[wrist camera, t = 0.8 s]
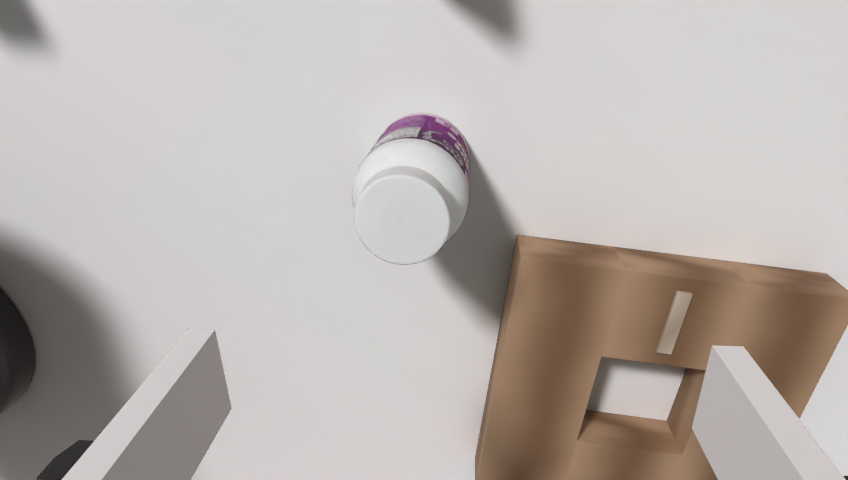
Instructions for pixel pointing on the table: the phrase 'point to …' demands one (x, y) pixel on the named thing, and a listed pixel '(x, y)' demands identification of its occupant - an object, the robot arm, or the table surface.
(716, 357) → the robot arm
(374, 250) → the pill bottle
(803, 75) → the table surface
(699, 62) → the table surface
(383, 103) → the table surface
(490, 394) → the board
